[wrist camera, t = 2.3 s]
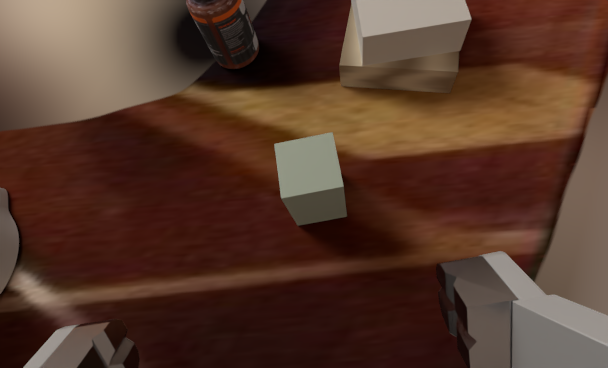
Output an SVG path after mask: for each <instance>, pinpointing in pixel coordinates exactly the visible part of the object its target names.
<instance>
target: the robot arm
mask: <svg viewBox="0 0 608 368" xmlns="http://www.w3.org/2000/svg"><path fill="white" fill-rule="evenodd" d="M18 250H19V235H18V230H17V226H16V224H15V222H14V220H13V218H12V216H11V215H10V213H9V210H8V194H7V191H6V190H5V189H3V188H0V294H1V293H2V291H3V289H4V288H5V286H6V284H7V283H8V281H9V279H10V277H11V274H12V272H13V270H14V267H15V264H16V260H17V256H18ZM436 274H437V279H438V281H439V283H440V284H441V286H442V288H441V289H440V291H439V292H438V296H439V304H440V308H441V312H442V316H443V318H444V321H445V324H446V326H447V328H448V330H449V332H450V333H451V334H453V335H454V336H456V337H457V347H458V350H459V352H460V354H461V356H462V358H463V360H464V362H465V364H466V366H467V368H608V316H607V315H605V314H602V313H600V312H597V311H595V310H592V309H590V308H587V307H584V306H582V305H580V304H577V303H575V302H572V301H569V300H567V299H564V298H562V297H559V296H557V295H548V296H547V295H546V294H545V293H544V292H543V291H542V290H541V289H540V288H539V287H538V286H537V285H536V284H535V283H534V282H533V281H532V280H531V279H530V278H529V277H528V276H527V275H526V274H525V273H524V272H523V270H522V269H521V268H520V267H519V266H518V265H517V264H516V263H515V262H514V261H513V260H512V259H511V258H510V257H509V256H508V255H507V254H506V253H504V252H502V251H499V252H494V253H489V254H484V255H479V256H478V257H472V258H466V259H461V260H455V261H449V262H444V263H438V264H437V266H436ZM127 331H128V330H127V328H126V326H125V325H124V323H123V321H122V320H118V319H111V320H105V321H98V322H91V323H84V324H80V325H73V326H66V327H63V328H60V329H58V330H56V331H55V332H54V333H53V335H52V336H51V337H50V338H49V339H48V340H47V341H46V342H45V344H44V345H43V346H42V347H41V348H40V349H39V350H38V351H37V353H36V354H35V355H34V356H33V357H32V358H31V359H30V360H29V362H28V363H27V364H26V365H25V366H24V367H23V368H138V366H139V360H140V359H139V353H138V349H137V347H136V345H135V343H134V342H132V341H130V340H129V339H127V338H126V334H127Z"/></svg>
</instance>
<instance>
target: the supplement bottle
mask: <svg viewBox="0 0 608 368" xmlns="http://www.w3.org/2000/svg"><path fill="white" fill-rule="evenodd" d="M186 4H187V7H188V9H189V11H190V13H191V15H192V17H193V19H194V21H195V23H196V24H197V26H198V28H199V30H200V32H201V34H202V36H203V37H204V39H205V41H206V43H207V44H208V46H209V48H210V50H211V52H212V54H213V55H214V57H215V59H216V61H217V62H218V63H219V64H220V65H221V66H222V67H224V68H228V69H239V68H242V67H245V66H247V65H248V64H250V63H251V62H252V61H253V60H254V59H255V58H256V56H257V54H258V51H259V43H258V39H257V36H256V33H255V31H254V28H253V25H252V23H251V20H250V17H249V14H248V12H247V9H246V6H245V3H244V1H243V0H186Z"/></svg>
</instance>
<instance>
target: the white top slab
mask: <svg viewBox="0 0 608 368" xmlns="http://www.w3.org/2000/svg"><path fill="white" fill-rule="evenodd" d="M351 2H352V8H353V14H354V20H355V25H356V31H357V37H358V43H359V49H360V55H361V61H362V66H366V65H372V64H379V63H385V62H392V61H398V60H405V59H411V58H417V57H424V56H430V55H437V54H443V53H450V52H456V51H460V50H461V47H462V44H463V42H464V39H465V36H466V33H467V31H468V28H469V25H470V22H471V20H472V19H471V16H470V13H469V10H468V8H467V5H466V2H465V0H351Z"/></svg>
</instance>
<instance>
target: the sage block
mask: <svg viewBox="0 0 608 368" xmlns="http://www.w3.org/2000/svg"><path fill="white" fill-rule="evenodd" d="M274 145H275V153H276V161H277V169H278V177H279V185H280V193H281V199H282V200H283V202H284V204H285V205H286V207H287V209H288V210H289V212H290V214H291V215H292V217H293V219H294V220H295V222H296V224H297V225H298V226H299V225H305V224H310V223H315V222H321V221H326V220H332V219H337V218H343V217H347V211H346V203H345V194H344V186H343V181H342V176H341V171H340V166H339V161H338V157H337V152H336V147H335V142H334V137H333V133H332V132H331V133H326V134H321V135H317V136H312V137H307V138H302V139H297V140H292V141H287V142H282V143H277V144H274Z"/></svg>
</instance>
